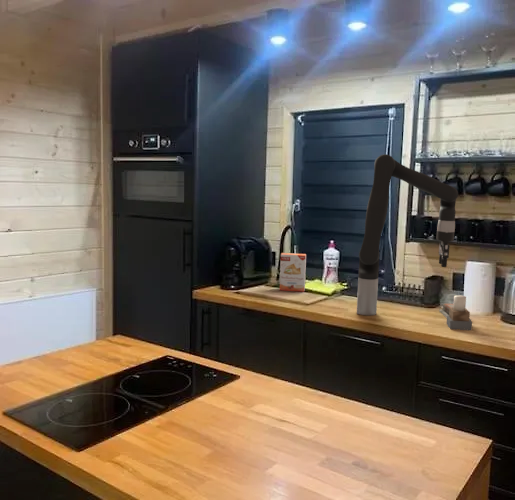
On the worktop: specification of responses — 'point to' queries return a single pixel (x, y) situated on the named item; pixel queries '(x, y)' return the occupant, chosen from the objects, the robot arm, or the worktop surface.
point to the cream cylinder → (459, 303)
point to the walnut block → (459, 315)
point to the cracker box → (292, 272)
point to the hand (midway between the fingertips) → (442, 265)
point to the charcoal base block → (459, 324)
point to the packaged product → (446, 309)
